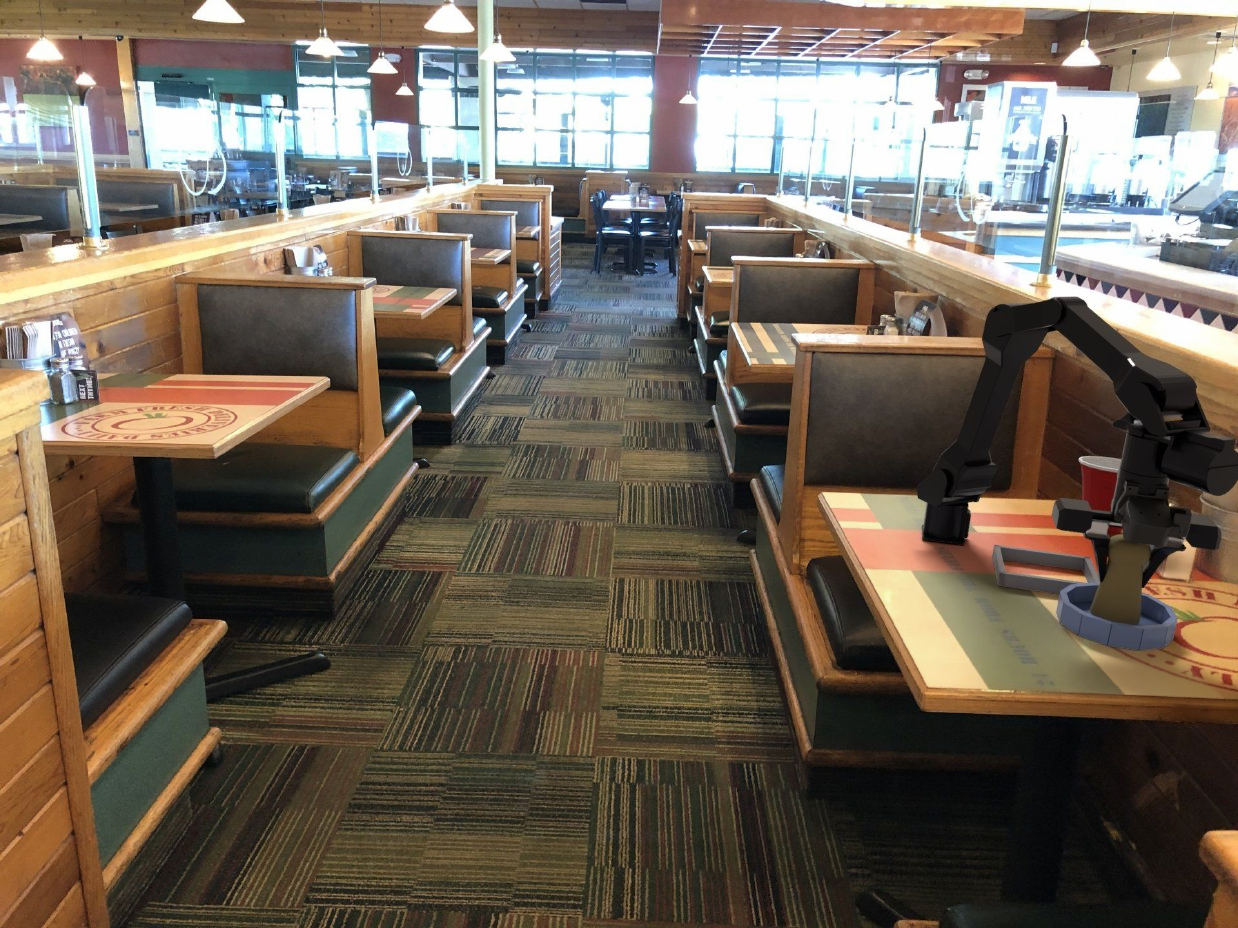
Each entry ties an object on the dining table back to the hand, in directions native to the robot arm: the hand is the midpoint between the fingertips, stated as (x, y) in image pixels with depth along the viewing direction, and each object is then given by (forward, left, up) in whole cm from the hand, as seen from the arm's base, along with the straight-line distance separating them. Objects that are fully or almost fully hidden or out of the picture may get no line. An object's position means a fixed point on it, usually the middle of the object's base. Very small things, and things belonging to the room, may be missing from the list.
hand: (1120, 584), depth 128 cm
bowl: (0, 0, -6) cm, 6 cm away
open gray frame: (-7, +14, -6) cm, 17 cm away
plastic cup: (+5, +40, -6) cm, 41 cm away
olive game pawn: (0, 0, -5) cm, 5 cm away
